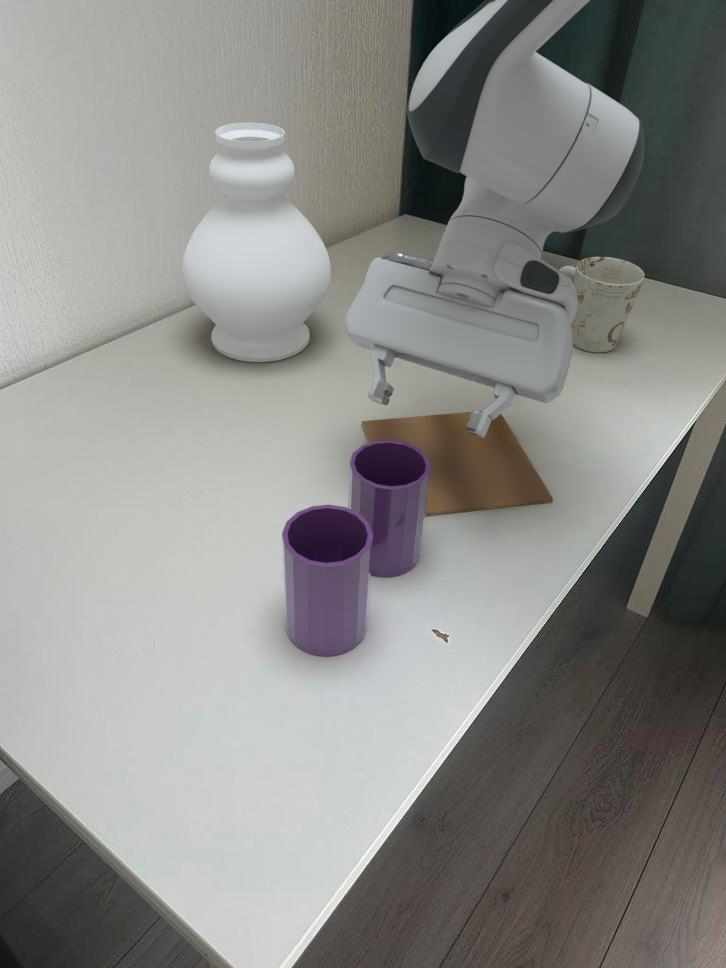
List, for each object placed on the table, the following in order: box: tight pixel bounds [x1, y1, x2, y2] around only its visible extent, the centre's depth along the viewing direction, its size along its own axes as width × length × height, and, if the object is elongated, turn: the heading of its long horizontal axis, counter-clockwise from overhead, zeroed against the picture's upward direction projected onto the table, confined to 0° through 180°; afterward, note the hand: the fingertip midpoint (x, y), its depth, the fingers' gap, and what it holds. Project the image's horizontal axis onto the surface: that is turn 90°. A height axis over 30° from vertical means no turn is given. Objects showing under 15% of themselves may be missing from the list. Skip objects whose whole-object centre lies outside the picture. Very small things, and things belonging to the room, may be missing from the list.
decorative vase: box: [182, 121, 332, 363], centre depth 92 cm, size 18×18×25 cm
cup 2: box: [347, 440, 431, 578], centre depth 67 cm, size 7×7×10 cm
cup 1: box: [281, 504, 373, 657], centre depth 60 cm, size 7×7×10 cm
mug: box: [558, 256, 645, 353], centre depth 100 cm, size 8×13×10 cm, turn 41°
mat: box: [361, 410, 554, 517], centre depth 81 cm, size 16×16×1 cm
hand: (424, 417), depth 68 cm, fingers open, 8 cm apart
